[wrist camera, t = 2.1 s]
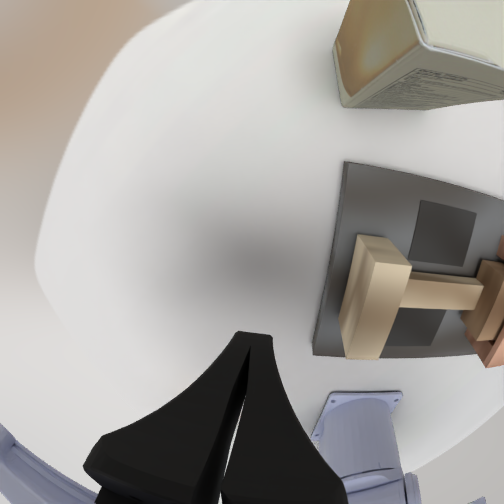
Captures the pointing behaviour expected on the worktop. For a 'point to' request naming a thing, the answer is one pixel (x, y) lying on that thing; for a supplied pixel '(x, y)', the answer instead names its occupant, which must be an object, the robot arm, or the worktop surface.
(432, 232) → the plate
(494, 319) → the tan wooden brick
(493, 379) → the worktop surface
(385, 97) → the skincare box
